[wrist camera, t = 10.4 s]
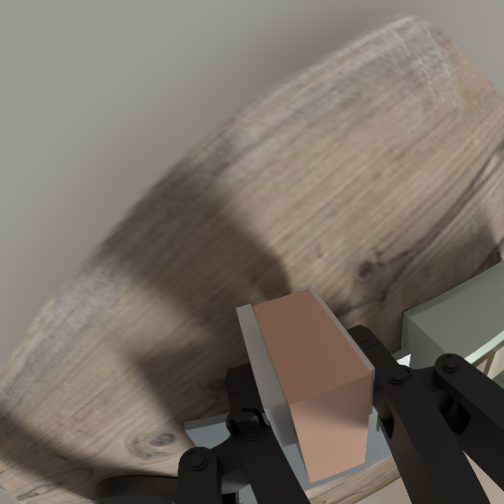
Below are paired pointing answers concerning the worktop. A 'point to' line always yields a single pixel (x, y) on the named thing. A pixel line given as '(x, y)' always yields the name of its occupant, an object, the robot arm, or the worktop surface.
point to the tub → (458, 322)
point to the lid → (313, 394)
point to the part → (495, 360)
